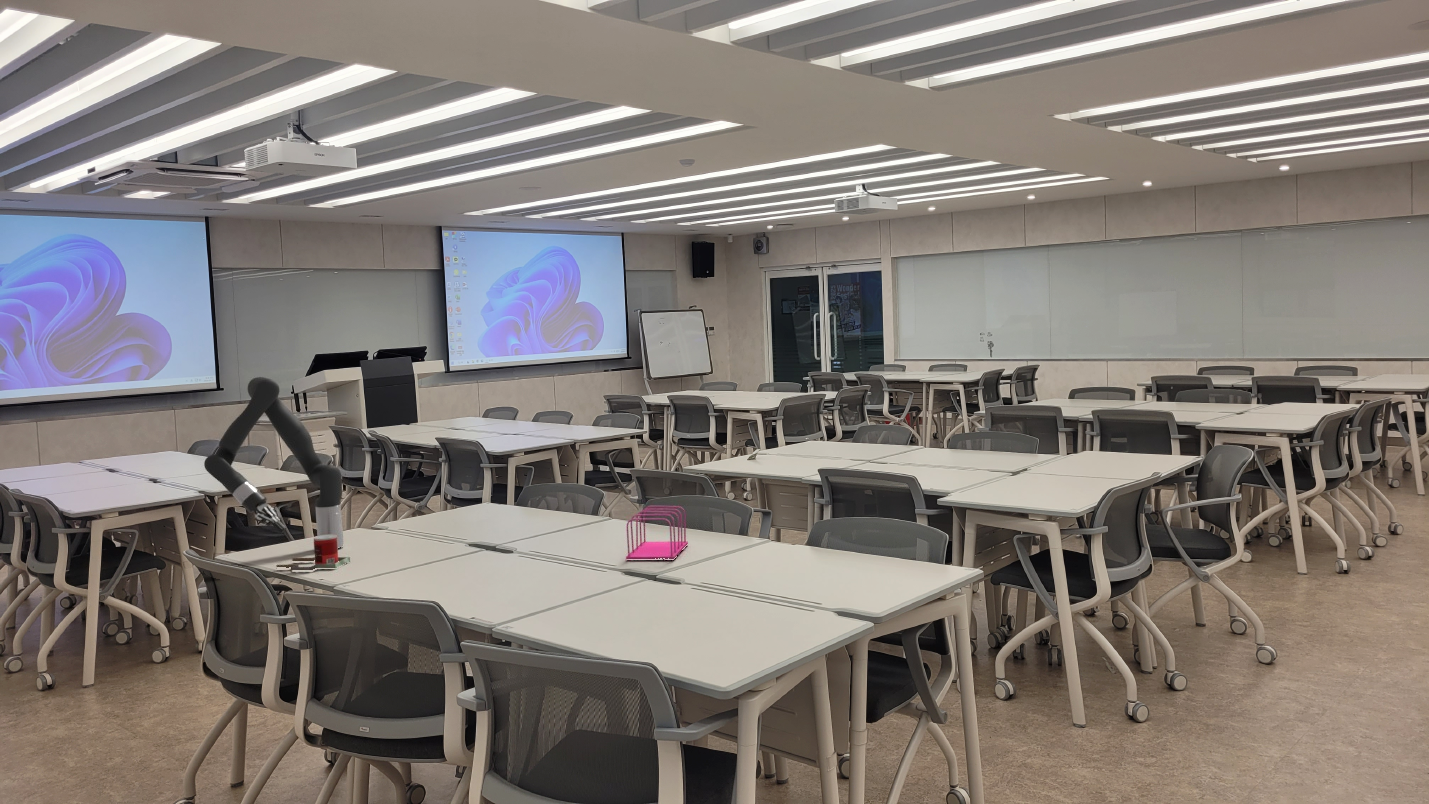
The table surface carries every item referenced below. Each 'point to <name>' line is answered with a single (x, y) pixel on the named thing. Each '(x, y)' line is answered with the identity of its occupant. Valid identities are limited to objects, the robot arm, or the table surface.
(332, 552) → the canned food
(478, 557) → the table surface
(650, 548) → the file sorter
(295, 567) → the trap track
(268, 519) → the robot arm
